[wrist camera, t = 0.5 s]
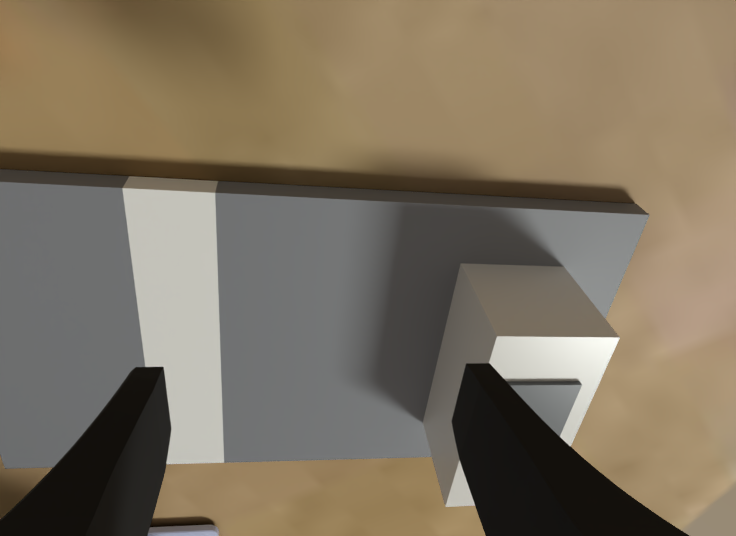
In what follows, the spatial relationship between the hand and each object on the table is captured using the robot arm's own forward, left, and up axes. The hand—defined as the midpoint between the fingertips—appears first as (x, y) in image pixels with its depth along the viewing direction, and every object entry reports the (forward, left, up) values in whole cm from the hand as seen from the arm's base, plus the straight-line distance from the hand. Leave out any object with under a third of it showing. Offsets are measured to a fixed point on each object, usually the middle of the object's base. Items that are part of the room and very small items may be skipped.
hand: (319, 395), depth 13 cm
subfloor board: (-6, 0, -9) cm, 11 cm away
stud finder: (-6, -8, -8) cm, 13 cm away
